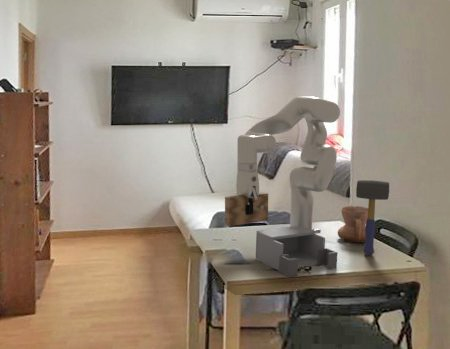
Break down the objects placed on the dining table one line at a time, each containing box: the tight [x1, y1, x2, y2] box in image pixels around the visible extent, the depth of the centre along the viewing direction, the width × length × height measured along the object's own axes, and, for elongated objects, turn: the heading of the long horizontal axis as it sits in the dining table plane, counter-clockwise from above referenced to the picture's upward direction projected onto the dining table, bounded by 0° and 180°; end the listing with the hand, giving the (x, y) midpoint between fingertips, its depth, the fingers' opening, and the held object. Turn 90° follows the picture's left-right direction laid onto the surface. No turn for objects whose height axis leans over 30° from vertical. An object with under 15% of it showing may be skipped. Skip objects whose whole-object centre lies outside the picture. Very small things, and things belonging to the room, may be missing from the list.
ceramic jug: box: [337, 205, 368, 243], centre depth 244 cm, size 18×14×14 cm
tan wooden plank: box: [224, 191, 269, 227], centre depth 220 cm, size 18×4×11 cm, turn 120°
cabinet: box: [255, 226, 338, 278], centre depth 210 cm, size 22×22×11 cm
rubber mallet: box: [355, 179, 390, 256], centre depth 221 cm, size 12×8×30 cm, turn 75°
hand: (246, 212), depth 221 cm, fingers closed on tan wooden plank, 3 cm apart
